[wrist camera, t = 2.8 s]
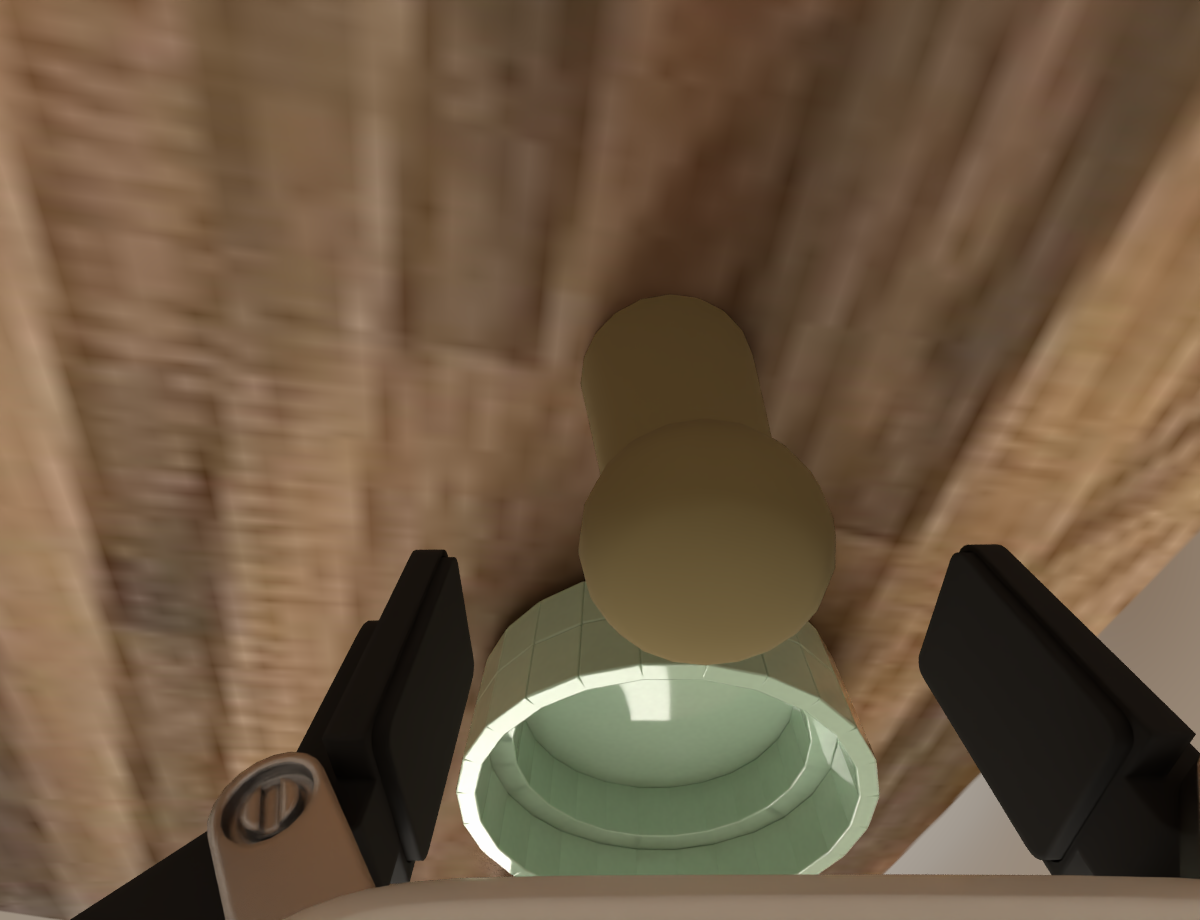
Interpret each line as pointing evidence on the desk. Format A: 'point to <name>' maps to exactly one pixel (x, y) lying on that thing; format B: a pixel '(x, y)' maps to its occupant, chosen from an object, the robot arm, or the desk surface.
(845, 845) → the bowl
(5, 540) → the desk surface
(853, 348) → the desk surface
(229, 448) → the desk surface
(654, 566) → the tan pawn
